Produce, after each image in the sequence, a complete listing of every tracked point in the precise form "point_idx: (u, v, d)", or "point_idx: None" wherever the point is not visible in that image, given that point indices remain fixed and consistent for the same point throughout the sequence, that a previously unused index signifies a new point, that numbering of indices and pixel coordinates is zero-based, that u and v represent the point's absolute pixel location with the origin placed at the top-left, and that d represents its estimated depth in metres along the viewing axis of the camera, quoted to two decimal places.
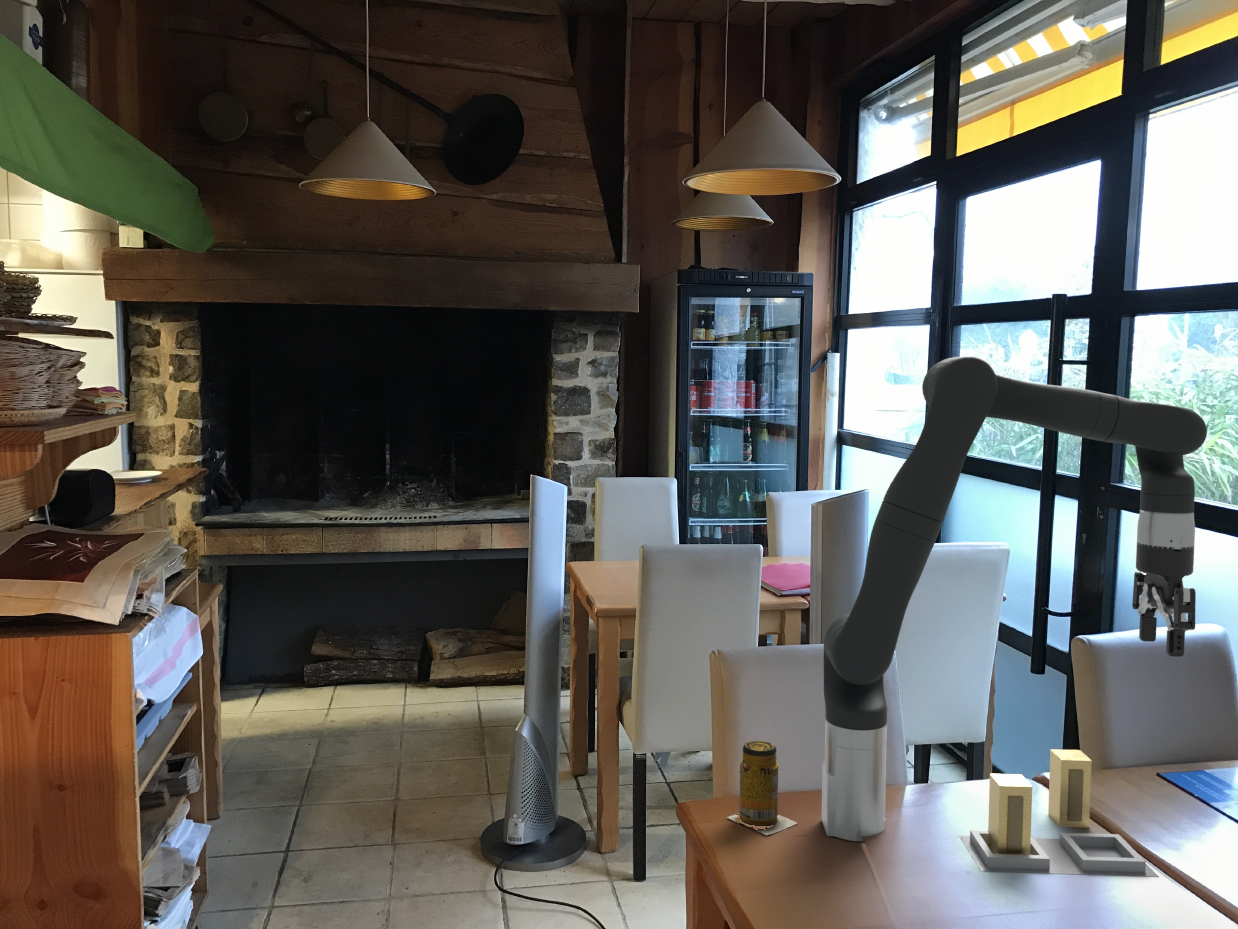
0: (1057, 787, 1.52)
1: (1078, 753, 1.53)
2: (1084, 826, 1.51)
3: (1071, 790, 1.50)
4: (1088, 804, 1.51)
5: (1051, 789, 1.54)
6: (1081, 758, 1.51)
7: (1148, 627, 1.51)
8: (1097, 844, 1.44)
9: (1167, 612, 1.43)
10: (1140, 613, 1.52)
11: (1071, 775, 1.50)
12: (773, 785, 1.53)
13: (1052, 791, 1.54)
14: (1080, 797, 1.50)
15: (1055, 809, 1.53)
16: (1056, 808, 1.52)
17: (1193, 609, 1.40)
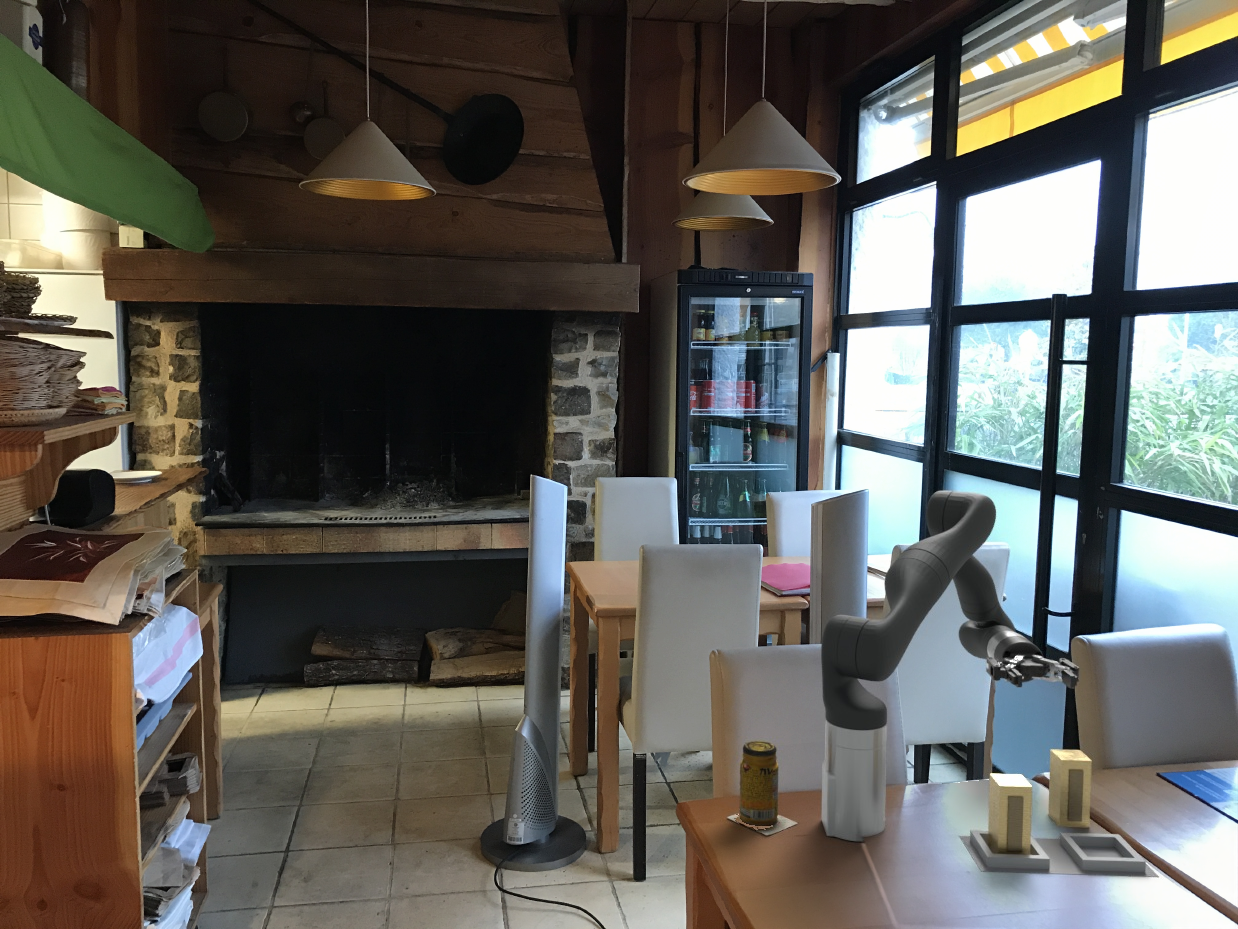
0: (1057, 787, 1.52)
1: (1078, 753, 1.53)
2: (1084, 826, 1.51)
3: (1071, 790, 1.50)
4: (1088, 804, 1.51)
5: (1051, 789, 1.54)
6: (1081, 758, 1.51)
7: None
8: (1097, 844, 1.44)
9: None
10: (1011, 667, 1.67)
11: (1071, 775, 1.50)
12: (773, 785, 1.53)
13: (1052, 791, 1.54)
14: (1080, 797, 1.50)
15: (1055, 809, 1.53)
16: (1056, 808, 1.52)
17: None
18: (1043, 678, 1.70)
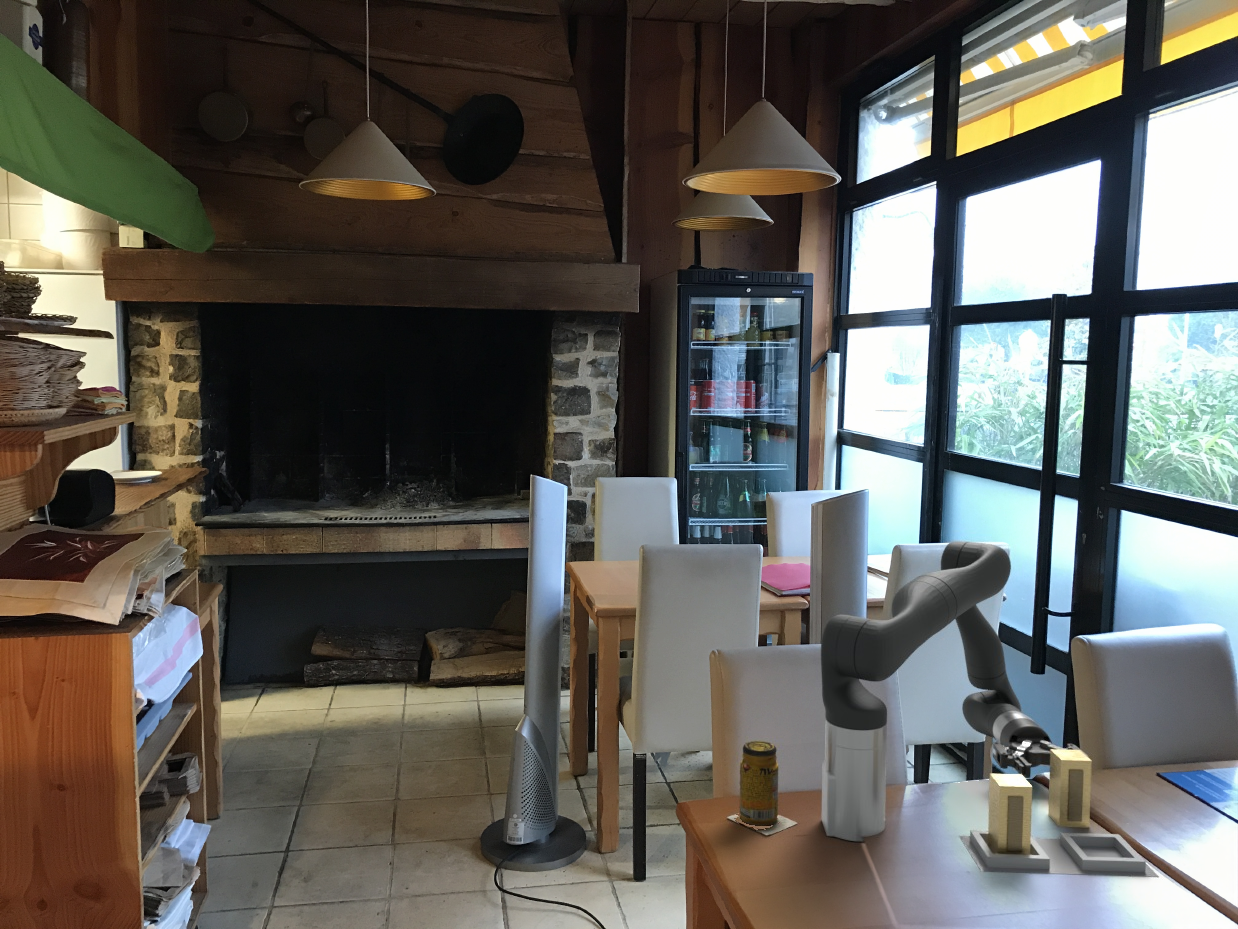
0: (1057, 787, 1.52)
1: (1078, 753, 1.53)
2: (1084, 826, 1.51)
3: (1071, 790, 1.50)
4: (1088, 804, 1.51)
5: (1051, 789, 1.54)
6: (1081, 758, 1.51)
7: None
8: (1097, 844, 1.44)
9: None
10: (1019, 755, 1.63)
11: (1071, 775, 1.50)
12: (773, 785, 1.53)
13: (1052, 791, 1.54)
14: (1080, 797, 1.50)
15: (1055, 809, 1.53)
16: (1056, 808, 1.52)
17: None
18: None
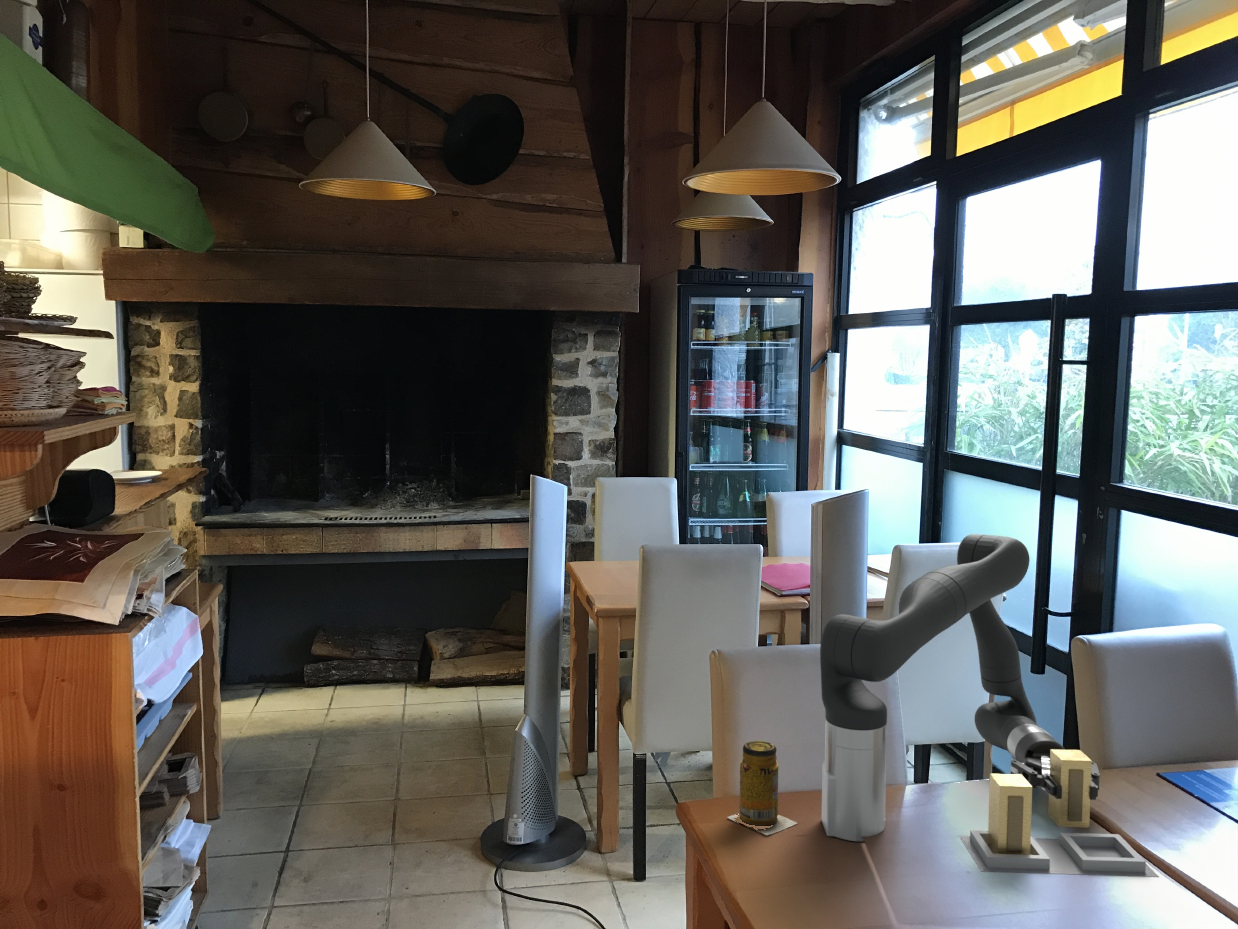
0: None
1: (1078, 753, 1.53)
2: (1084, 826, 1.51)
3: (1071, 790, 1.50)
4: (1088, 804, 1.51)
5: None
6: (1081, 758, 1.51)
7: None
8: (1097, 844, 1.44)
9: None
10: (1049, 774, 1.54)
11: (1071, 775, 1.50)
12: (773, 785, 1.53)
13: None
14: (1080, 797, 1.50)
15: (1055, 809, 1.53)
16: (1056, 808, 1.52)
17: None
18: None
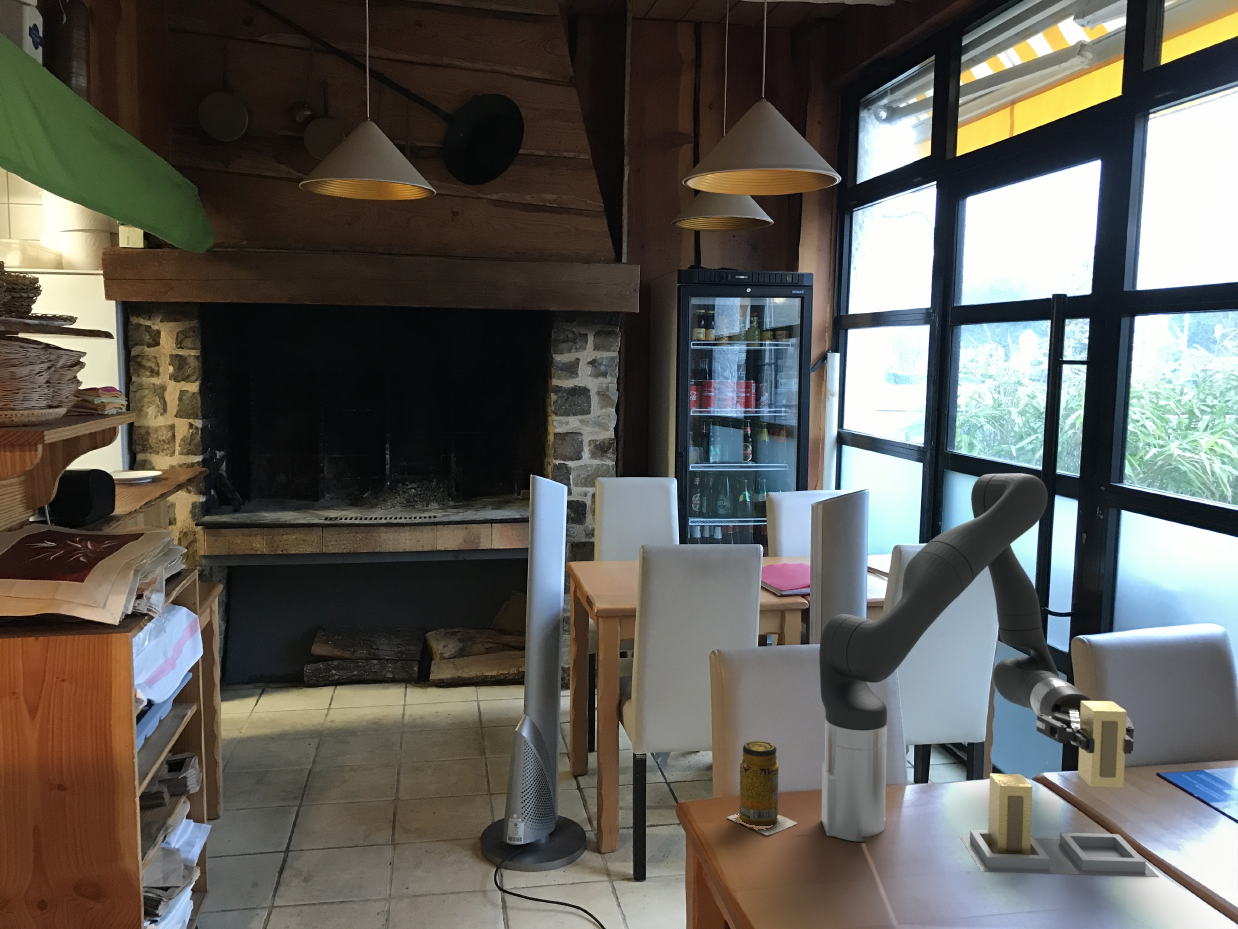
0: None
1: (1111, 704, 1.41)
2: (1118, 783, 1.39)
3: (1104, 743, 1.39)
4: (1123, 759, 1.39)
5: None
6: (1115, 709, 1.39)
7: None
8: (1097, 844, 1.44)
9: None
10: (1079, 728, 1.43)
11: (1104, 727, 1.39)
12: (773, 785, 1.53)
13: None
14: (1114, 751, 1.39)
15: (1086, 765, 1.41)
16: (1087, 764, 1.41)
17: None
18: None
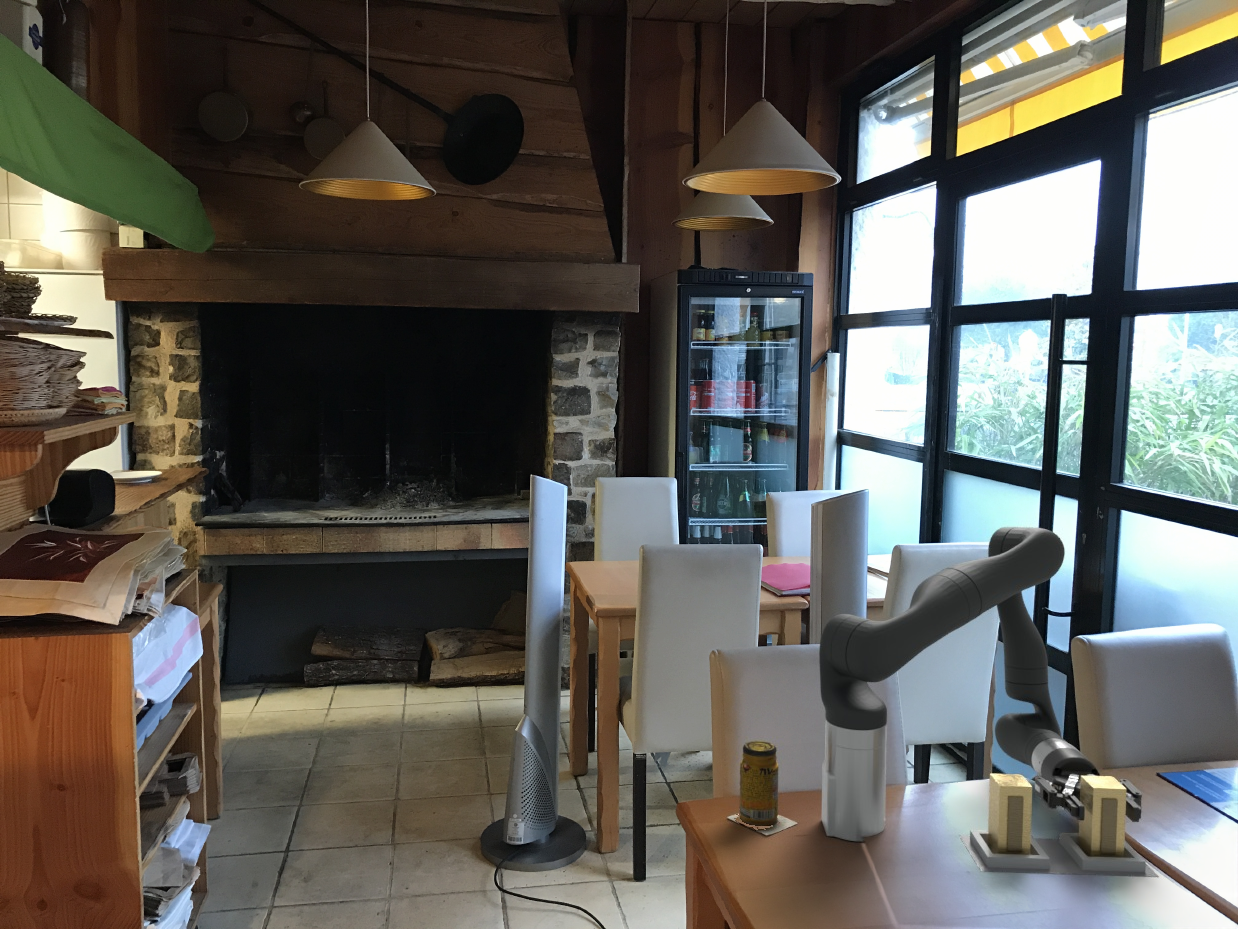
0: (1089, 817, 1.40)
1: (1111, 780, 1.41)
2: None
3: (1104, 821, 1.38)
4: (1122, 836, 1.39)
5: None
6: (1115, 786, 1.39)
7: None
8: None
9: None
10: (1070, 793, 1.43)
11: (1104, 804, 1.38)
12: (773, 785, 1.53)
13: (1083, 821, 1.42)
14: (1114, 828, 1.38)
15: (1086, 841, 1.41)
16: (1087, 840, 1.40)
17: None
18: None
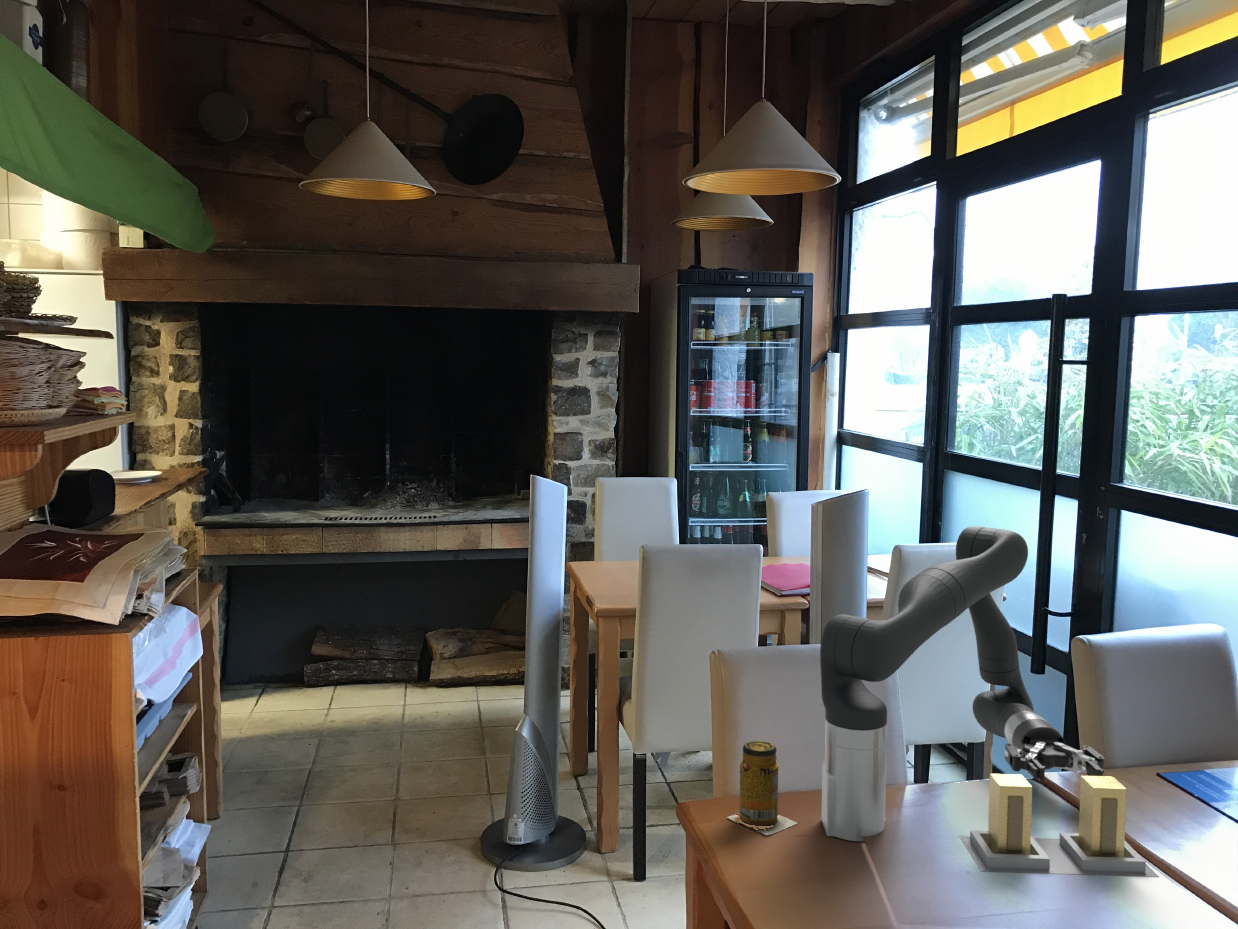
0: (1089, 817, 1.40)
1: (1111, 780, 1.41)
2: None
3: (1104, 821, 1.38)
4: (1122, 836, 1.39)
5: (1082, 819, 1.42)
6: (1115, 786, 1.39)
7: None
8: None
9: None
10: (1032, 757, 1.57)
11: (1104, 804, 1.38)
12: (773, 785, 1.53)
13: (1083, 821, 1.42)
14: (1114, 828, 1.38)
15: (1086, 841, 1.41)
16: (1087, 840, 1.40)
17: None
18: (1066, 768, 1.60)
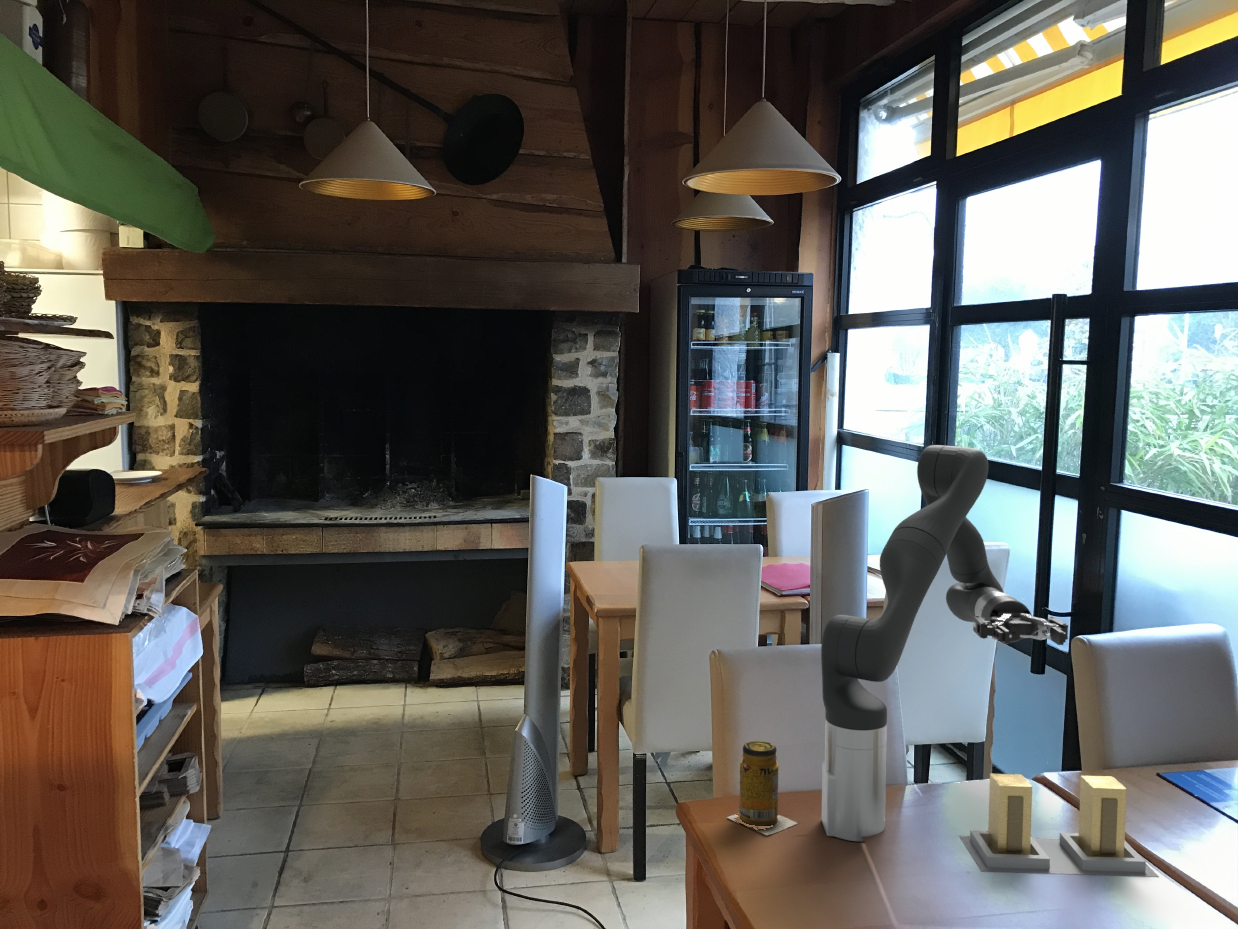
0: (1089, 817, 1.40)
1: (1111, 780, 1.41)
2: None
3: (1104, 821, 1.38)
4: (1122, 836, 1.39)
5: (1082, 819, 1.42)
6: (1115, 786, 1.39)
7: None
8: None
9: None
10: (999, 624, 1.63)
11: (1104, 804, 1.38)
12: (773, 785, 1.53)
13: (1083, 821, 1.42)
14: (1114, 828, 1.38)
15: (1086, 841, 1.41)
16: (1087, 840, 1.40)
17: None
18: (1031, 636, 1.66)
